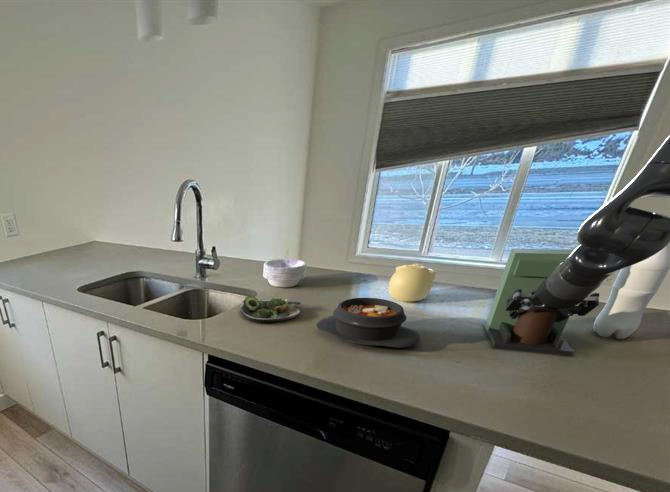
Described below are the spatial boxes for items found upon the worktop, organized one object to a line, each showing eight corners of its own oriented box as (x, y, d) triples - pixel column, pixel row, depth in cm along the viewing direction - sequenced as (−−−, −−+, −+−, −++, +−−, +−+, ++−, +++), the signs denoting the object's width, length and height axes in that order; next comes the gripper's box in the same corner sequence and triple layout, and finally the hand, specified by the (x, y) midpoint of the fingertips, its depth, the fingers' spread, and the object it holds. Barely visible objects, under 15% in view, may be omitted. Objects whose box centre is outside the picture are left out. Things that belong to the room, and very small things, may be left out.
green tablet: (484, 326, 106) (511, 248, 96) (553, 332, 100) (590, 249, 90) (493, 348, 96) (524, 263, 86) (571, 356, 90) (615, 265, 80)
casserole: (303, 337, 109) (306, 308, 105) (334, 316, 120) (338, 289, 116) (403, 362, 93) (411, 329, 89) (429, 336, 104) (437, 304, 100)
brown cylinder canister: (523, 331, 99) (537, 298, 95) (552, 341, 94) (568, 306, 89) (504, 336, 98) (516, 303, 93) (532, 346, 92) (547, 311, 88)
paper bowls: (300, 277, 157) (302, 256, 153) (308, 289, 144) (311, 266, 140) (260, 279, 158) (261, 259, 155) (265, 291, 145) (266, 269, 141)
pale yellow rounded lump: (433, 296, 127) (442, 262, 122) (420, 307, 121) (429, 271, 115) (394, 290, 135) (402, 258, 129) (380, 300, 128) (387, 266, 123)
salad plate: (289, 300, 136) (290, 286, 133) (314, 318, 120) (316, 303, 118) (233, 307, 134) (233, 293, 132) (252, 326, 119) (252, 311, 116)
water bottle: (583, 328, 101) (634, 222, 88) (620, 329, 98) (678, 221, 86) (599, 339, 95) (656, 228, 82) (639, 341, 93) (704, 227, 80)
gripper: (622, 266, 77) (576, 304, 92) (527, 264, 84) (498, 299, 98) (619, 302, 76) (573, 335, 91) (523, 296, 82) (494, 328, 97)
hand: (534, 316), depth 94 cm, fingers open, 7 cm apart
